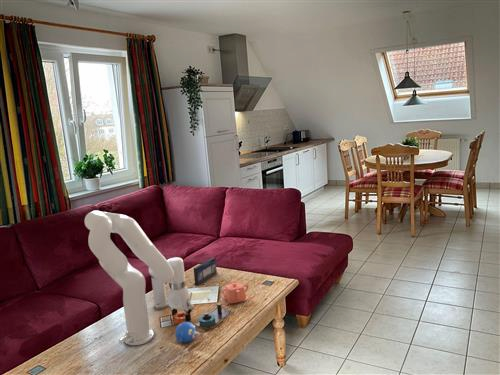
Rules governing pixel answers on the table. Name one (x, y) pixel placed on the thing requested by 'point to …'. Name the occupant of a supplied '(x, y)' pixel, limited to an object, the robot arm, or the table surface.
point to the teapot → (235, 292)
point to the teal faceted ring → (207, 322)
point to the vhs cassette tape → (205, 271)
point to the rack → (216, 315)
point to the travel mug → (159, 294)
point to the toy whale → (186, 332)
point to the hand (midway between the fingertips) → (181, 319)
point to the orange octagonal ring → (179, 317)
